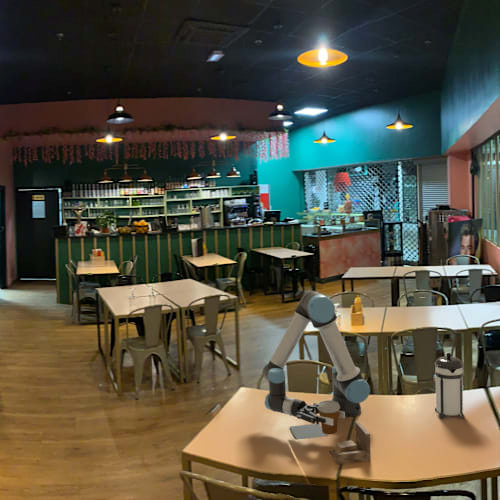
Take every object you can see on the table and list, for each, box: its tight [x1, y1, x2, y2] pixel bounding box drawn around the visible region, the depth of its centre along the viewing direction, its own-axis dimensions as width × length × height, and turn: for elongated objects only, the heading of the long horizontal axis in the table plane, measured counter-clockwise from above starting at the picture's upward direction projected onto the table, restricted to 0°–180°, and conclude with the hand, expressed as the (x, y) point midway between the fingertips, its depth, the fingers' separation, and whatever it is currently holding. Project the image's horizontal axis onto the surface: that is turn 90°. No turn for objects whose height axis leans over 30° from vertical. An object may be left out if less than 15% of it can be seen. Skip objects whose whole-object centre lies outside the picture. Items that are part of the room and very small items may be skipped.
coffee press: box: [434, 352, 465, 420], centre depth 262 cm, size 17×16×30 cm
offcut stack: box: [334, 439, 358, 453], centre depth 222 cm, size 8×6×5 cm
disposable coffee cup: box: [317, 399, 340, 435], centre depth 234 cm, size 10×10×12 cm
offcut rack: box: [328, 421, 372, 465], centre depth 222 cm, size 14×13×12 cm
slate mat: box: [289, 423, 329, 440], centre depth 249 cm, size 14×14×1 cm
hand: (338, 418), depth 230 cm, fingers closed on disposable coffee cup, 8 cm apart
